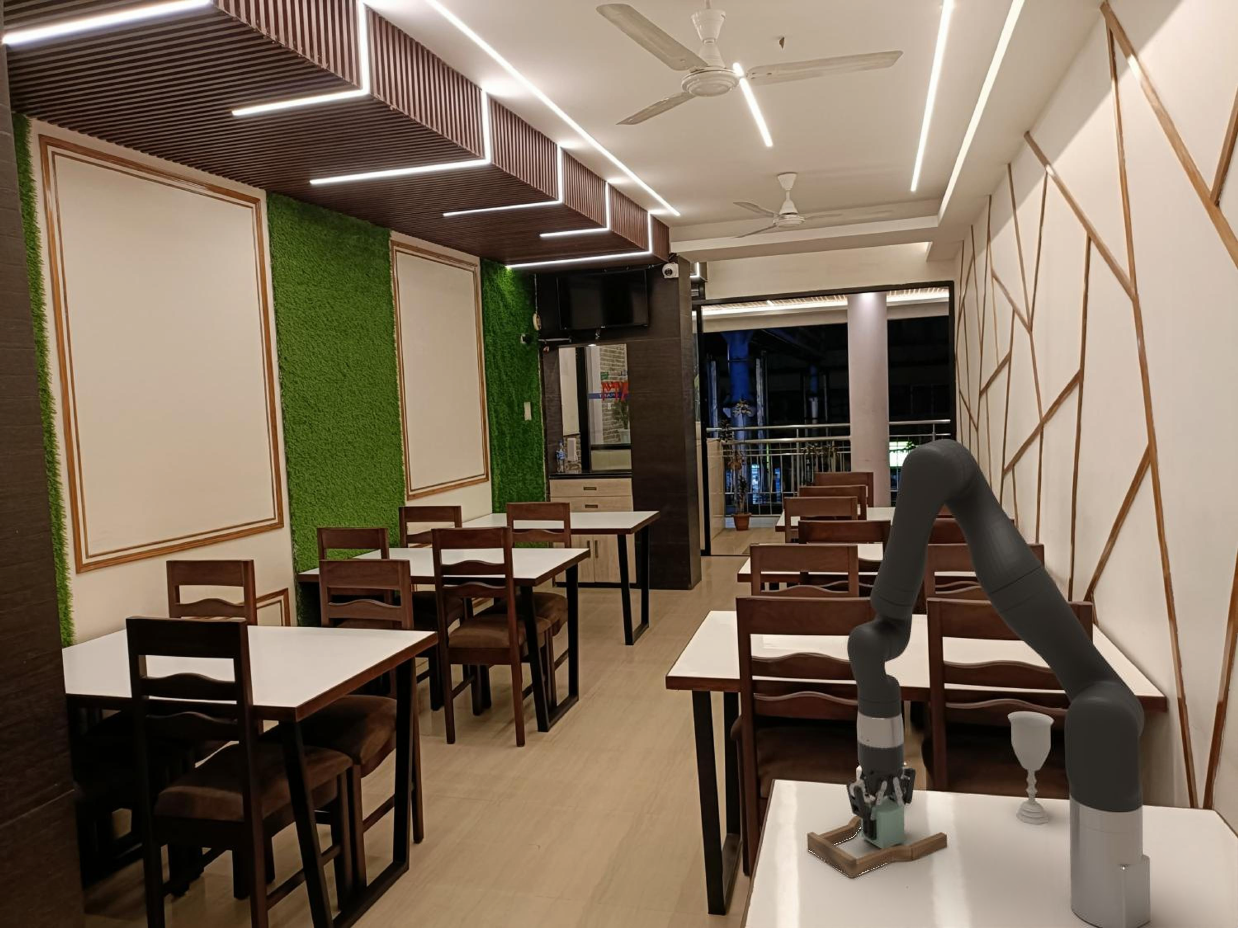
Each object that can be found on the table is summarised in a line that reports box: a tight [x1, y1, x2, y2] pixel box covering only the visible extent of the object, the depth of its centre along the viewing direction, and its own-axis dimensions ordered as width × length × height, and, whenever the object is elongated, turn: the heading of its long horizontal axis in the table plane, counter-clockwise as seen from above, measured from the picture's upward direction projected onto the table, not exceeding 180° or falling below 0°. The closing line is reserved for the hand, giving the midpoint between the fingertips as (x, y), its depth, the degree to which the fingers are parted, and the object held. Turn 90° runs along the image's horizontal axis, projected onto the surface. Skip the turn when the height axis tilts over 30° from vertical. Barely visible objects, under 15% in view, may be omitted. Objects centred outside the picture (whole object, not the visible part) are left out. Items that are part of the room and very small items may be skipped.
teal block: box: [860, 797, 906, 850], centre depth 150 cm, size 5×5×6 cm
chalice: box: [1007, 711, 1054, 825], centre depth 156 cm, size 7×7×18 cm
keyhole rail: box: [806, 815, 948, 879], centre depth 149 cm, size 13×20×3 cm
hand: (883, 833), depth 151 cm, fingers closed on teal block, 5 cm apart
